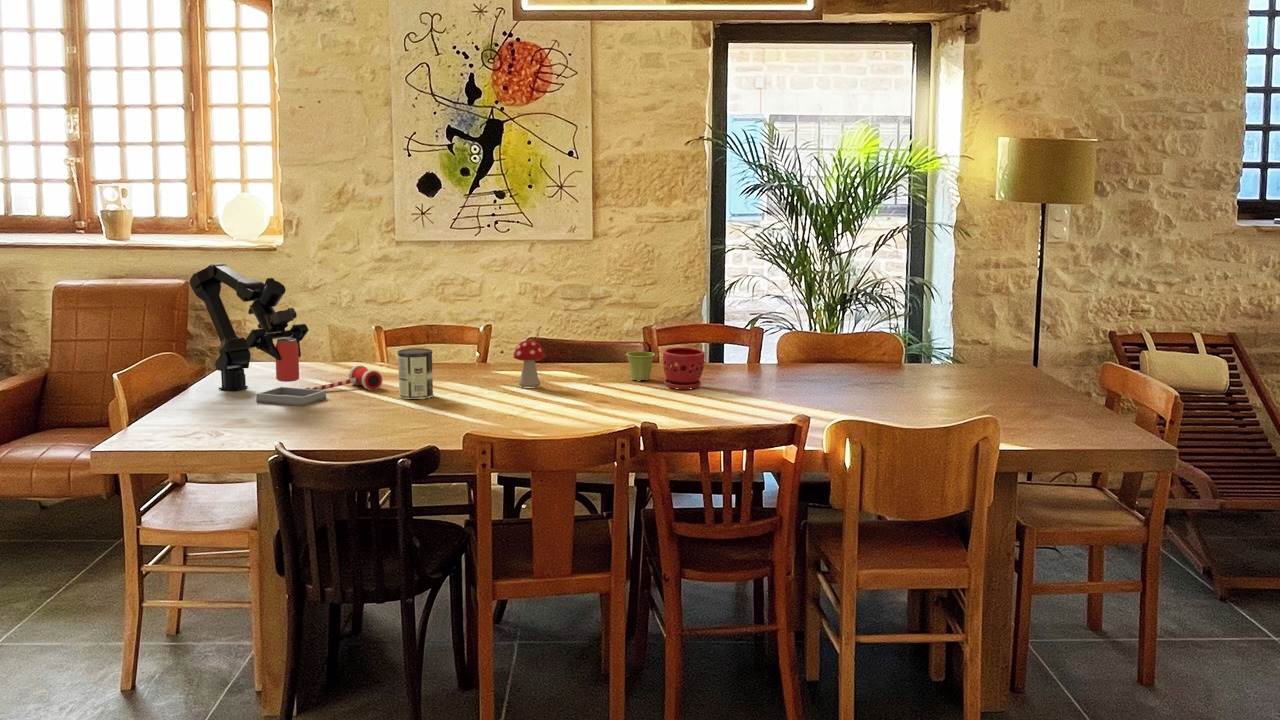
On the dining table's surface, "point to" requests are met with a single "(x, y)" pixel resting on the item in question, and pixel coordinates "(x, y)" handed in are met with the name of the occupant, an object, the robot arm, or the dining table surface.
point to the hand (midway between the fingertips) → (289, 358)
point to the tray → (291, 396)
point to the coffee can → (415, 373)
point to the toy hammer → (358, 379)
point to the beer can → (287, 360)
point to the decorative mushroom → (529, 362)
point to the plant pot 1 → (640, 365)
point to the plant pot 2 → (683, 367)
